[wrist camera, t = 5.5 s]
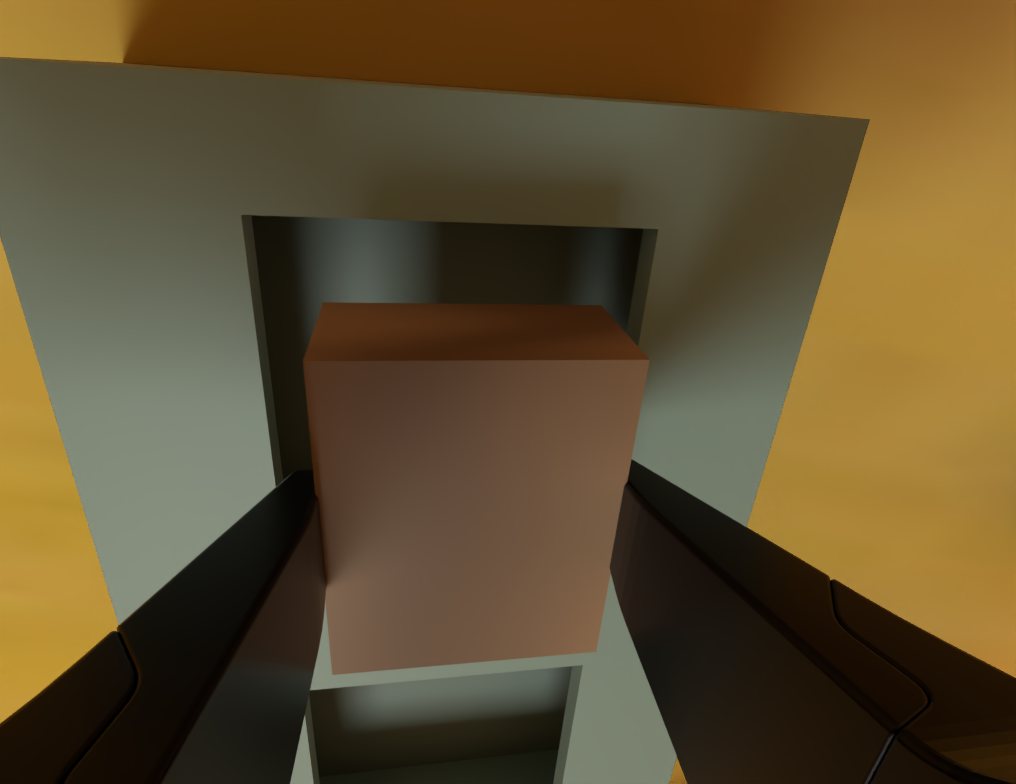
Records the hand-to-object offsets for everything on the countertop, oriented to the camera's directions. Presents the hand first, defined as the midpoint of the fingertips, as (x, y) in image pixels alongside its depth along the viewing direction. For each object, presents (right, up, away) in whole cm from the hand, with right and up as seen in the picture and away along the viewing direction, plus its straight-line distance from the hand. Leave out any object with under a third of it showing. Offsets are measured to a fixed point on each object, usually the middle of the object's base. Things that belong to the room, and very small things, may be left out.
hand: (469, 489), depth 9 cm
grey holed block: (-1, -1, +8) cm, 8 cm away
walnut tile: (0, 0, +1) cm, 1 cm away
